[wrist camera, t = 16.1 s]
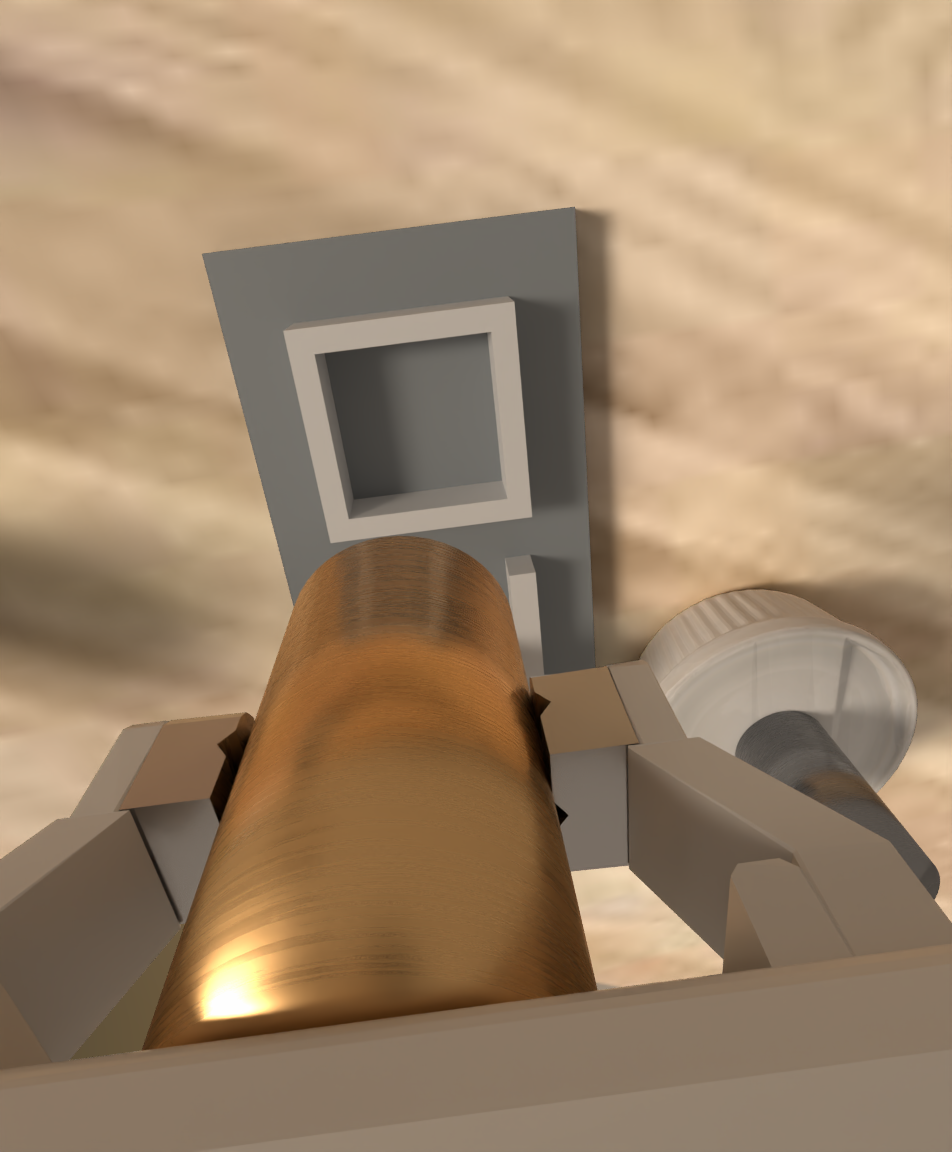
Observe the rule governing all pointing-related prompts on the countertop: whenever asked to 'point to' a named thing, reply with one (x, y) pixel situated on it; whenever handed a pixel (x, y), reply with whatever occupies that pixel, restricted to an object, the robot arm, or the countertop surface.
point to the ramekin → (785, 676)
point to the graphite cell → (828, 780)
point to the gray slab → (425, 404)
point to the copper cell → (382, 818)
